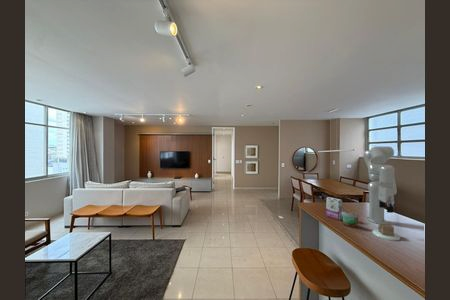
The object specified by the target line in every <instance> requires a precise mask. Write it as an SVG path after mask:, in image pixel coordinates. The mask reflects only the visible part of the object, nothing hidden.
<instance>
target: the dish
mask: <svg viewBox="0 0 450 300" xmlns="http://www.w3.org/2000/svg"><path fill="white" fill-rule="evenodd" d="M372 235H374V236H375V237H377V238H380V239H381V240H386V241H393V242H394V241H395V242H397V241H400V240H401V237H400V235H399V234H398V233H395V232H394V236H387V235H382V234H381V233H380V232H379V231H378V228H376V229H373V230H372Z"/></svg>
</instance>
